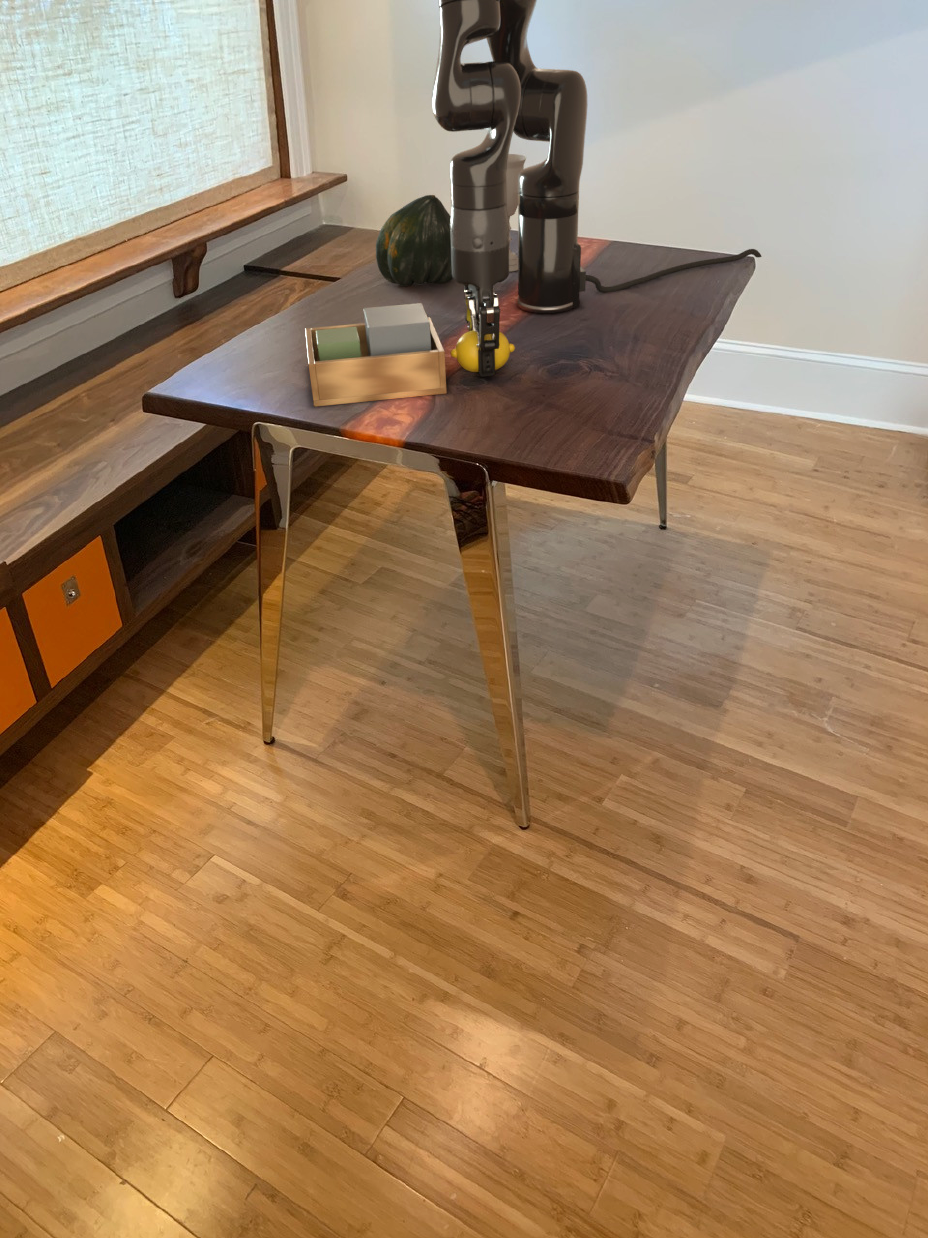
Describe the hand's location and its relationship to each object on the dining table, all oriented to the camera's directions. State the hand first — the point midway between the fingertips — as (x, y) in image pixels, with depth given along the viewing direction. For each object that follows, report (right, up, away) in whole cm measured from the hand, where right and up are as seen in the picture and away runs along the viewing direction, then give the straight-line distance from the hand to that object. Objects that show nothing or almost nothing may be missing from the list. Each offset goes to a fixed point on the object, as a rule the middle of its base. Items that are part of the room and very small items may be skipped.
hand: (482, 366), depth 132 cm
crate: (-15, -2, -1) cm, 15 cm away
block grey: (-11, -2, -1) cm, 12 cm away
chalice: (+5, +28, +39) cm, 48 cm away
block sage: (-19, -3, -2) cm, 20 cm away
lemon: (0, 0, 0) cm, 0 cm away
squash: (-10, +24, +34) cm, 43 cm away
